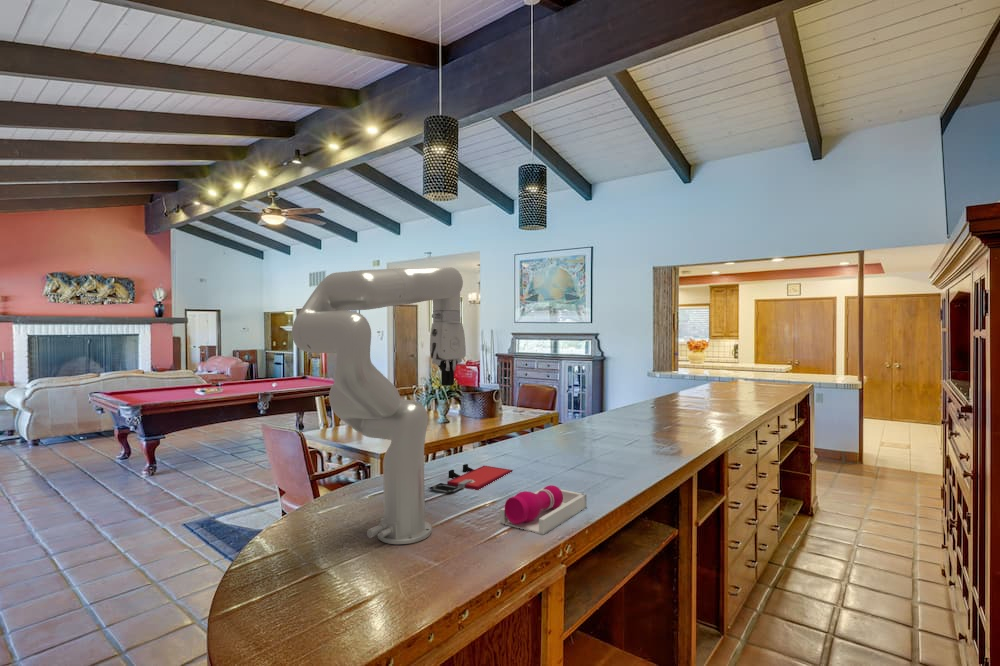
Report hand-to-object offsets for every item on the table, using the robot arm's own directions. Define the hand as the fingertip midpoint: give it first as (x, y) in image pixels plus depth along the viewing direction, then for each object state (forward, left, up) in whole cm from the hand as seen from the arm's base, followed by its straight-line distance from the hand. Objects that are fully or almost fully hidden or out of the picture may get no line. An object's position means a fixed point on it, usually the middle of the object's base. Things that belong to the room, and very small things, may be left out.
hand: (447, 385), depth 136 cm
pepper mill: (-3, -23, -29) cm, 37 cm away
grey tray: (+9, -25, -33) cm, 42 cm away
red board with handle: (+22, +11, -34) cm, 42 cm away
